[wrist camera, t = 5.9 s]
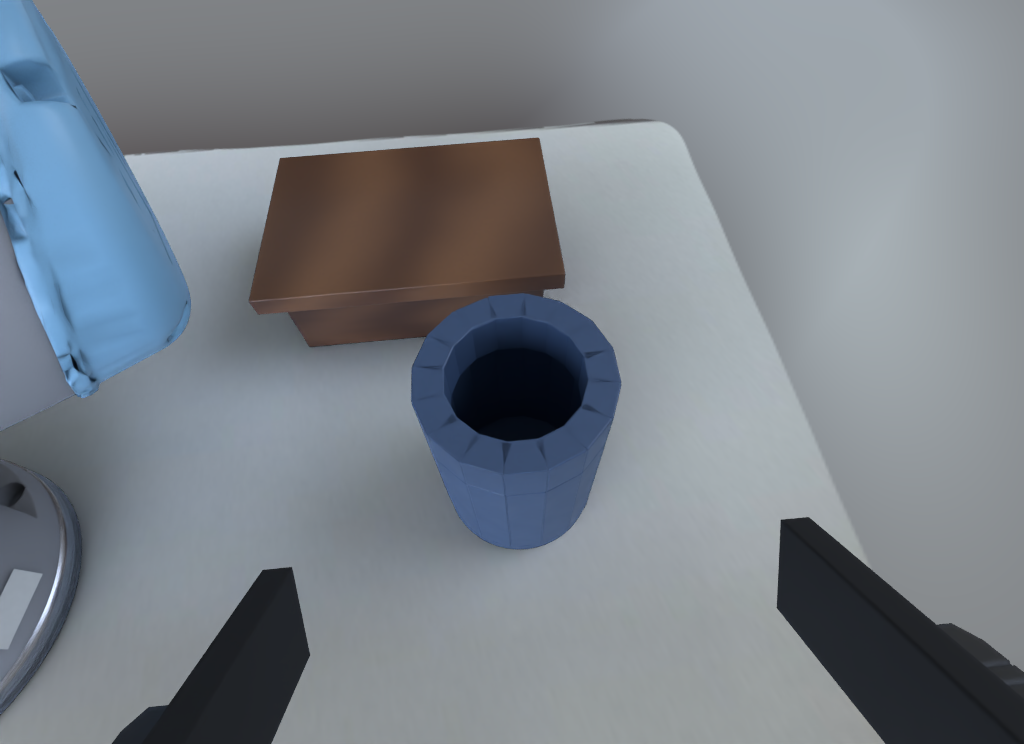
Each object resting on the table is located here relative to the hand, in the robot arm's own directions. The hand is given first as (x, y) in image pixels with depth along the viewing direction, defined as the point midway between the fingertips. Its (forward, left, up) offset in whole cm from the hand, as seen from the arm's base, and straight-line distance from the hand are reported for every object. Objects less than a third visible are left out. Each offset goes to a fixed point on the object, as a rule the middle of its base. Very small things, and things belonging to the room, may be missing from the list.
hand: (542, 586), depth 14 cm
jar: (0, +8, -12) cm, 15 cm away
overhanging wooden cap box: (-5, +23, -12) cm, 26 cm away
